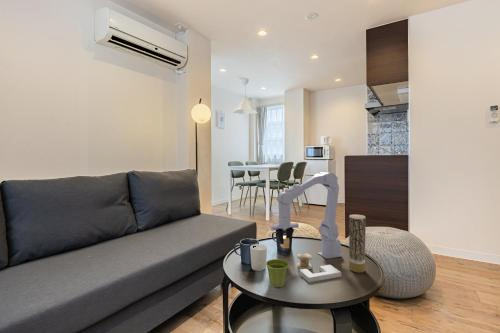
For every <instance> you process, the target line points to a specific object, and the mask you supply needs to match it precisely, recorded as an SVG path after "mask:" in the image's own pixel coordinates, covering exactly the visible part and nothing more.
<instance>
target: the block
mask: <svg viewBox="0 0 500 333" xmlns="http://www.w3.org/2000/svg"><path fill="white" fill-rule="evenodd" d="M279 243H280V242H279ZM280 247H281V248H282V249H290V243H289V237H287V236H286V235H283V244H281V243H280Z"/></svg>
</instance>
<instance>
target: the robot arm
mask: <svg viewBox="0 0 500 333" xmlns="http://www.w3.org/2000/svg"><path fill="white" fill-rule="evenodd" d="M338 179H339V177H338V176H337V175H336V174H335V173H334V172H325V171H319V172H317V173H315V174H314V175H313V176H312V177H310V178H309V179H307V180H306V181H304V182H302V183H301V184H298V183H295V184H293V185H292V186H291V187H290V188H286V189H284V191H281V192H279V193H278V194H277V196H276V200H277V202H278V223H277V224H274V225H270V231H275V232H276V234H277V237H278V240H279V243H281V244H283V236H284V234H285V236H287V237H289V244H290V242H291V239H292V235H293V234H294V232H295V229H296V228H297V229H299V223H297V222H296V223H295V222H294V223H293V222H291V204H292V203H293V200H295V199H297V198H298V197H300V196H302V195H304V191H306V190H307V189H309V188H312V187H313V186H315V185H317V184H318V185H322V186H324V187H325V188H326V190H327V195H326V203H325V211H324V212H325V213H324V219H323V220H322V221H321V224H320V225H319V227H318V228H319V229H318V232H319V234H320V237H321V240H320V241H321V244H320V246H321V248H320V249H321V251H319V252H317V254H319V255H320V256H321V257H323V258H324V259H334V258H340V257H342V256H343V255H342V252H341V251H342V245H341V244H342V243H341V239H339V234H340V233H339V226H338V224H337V222H336V216H337V210H338V201H339V200H338V199H339V193H340V192H339V191H340V186H339V183H338ZM284 230H285V231H284Z"/></svg>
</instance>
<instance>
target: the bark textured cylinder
mask: <svg viewBox="0 0 500 333" xmlns="http://www.w3.org/2000/svg"><path fill="white" fill-rule="evenodd" d="M366 220H367V219H366V216H365V215H363V214H349V222H348V223H349V228H348V229H349V232H348V233H349V235H348V236H349V238H348V260H349V261H348V268H349V271H352V272H353V273H359V274H361V273H364V272H365V270H366V226H367V225H366V222H367V221H366Z"/></svg>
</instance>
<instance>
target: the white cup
mask: <svg viewBox="0 0 500 333" xmlns="http://www.w3.org/2000/svg"><path fill="white" fill-rule="evenodd" d="M253 246H256V247H254V248H253ZM249 249H250V250H249V251H250V264H251V265H250V266H251V269H252V270H253V271H257V272H260V271H265V270H266V269H267V266H266V262H267V258H268V257H267V256H268V255H267V253H268V251H267V250H268V246H267V245H266V244H261V243H256V244H251V245H250V247H249Z"/></svg>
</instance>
